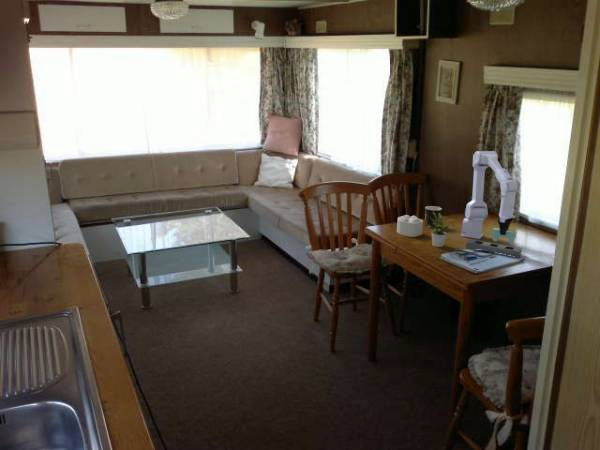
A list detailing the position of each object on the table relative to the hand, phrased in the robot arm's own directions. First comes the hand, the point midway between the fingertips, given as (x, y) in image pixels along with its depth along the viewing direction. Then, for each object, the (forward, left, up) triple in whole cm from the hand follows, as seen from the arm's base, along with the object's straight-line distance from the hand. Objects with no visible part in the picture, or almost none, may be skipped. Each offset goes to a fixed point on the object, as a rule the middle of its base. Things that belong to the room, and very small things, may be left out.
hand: (503, 233), depth 255 cm
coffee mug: (-41, +23, -10) cm, 48 cm away
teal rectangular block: (0, 0, -4) cm, 4 cm away
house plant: (-30, -6, -10) cm, 32 cm away
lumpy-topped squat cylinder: (-48, +5, -10) cm, 49 cm away
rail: (-4, 0, -9) cm, 10 cm away
